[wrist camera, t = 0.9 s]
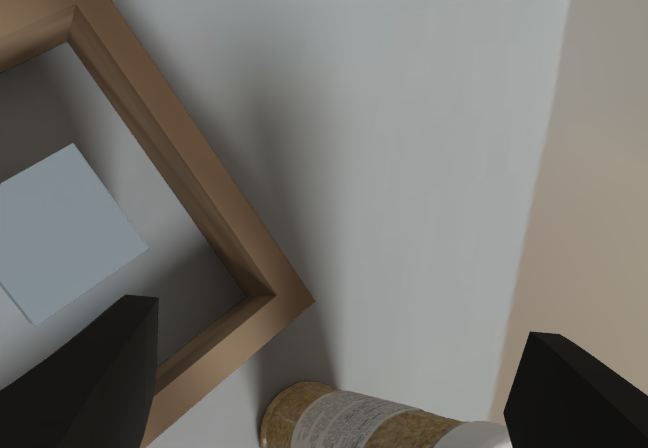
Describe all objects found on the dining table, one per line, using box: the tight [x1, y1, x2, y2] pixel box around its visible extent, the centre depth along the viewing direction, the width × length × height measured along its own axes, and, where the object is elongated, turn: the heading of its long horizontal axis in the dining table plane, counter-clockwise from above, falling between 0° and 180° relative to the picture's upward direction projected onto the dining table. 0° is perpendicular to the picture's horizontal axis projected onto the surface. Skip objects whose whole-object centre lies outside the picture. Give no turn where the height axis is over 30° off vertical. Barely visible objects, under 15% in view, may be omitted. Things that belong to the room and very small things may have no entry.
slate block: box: [0, 143, 149, 326], centre depth 21 cm, size 4×4×6 cm
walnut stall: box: [0, 0, 315, 448], centre depth 22 cm, size 13×15×4 cm
